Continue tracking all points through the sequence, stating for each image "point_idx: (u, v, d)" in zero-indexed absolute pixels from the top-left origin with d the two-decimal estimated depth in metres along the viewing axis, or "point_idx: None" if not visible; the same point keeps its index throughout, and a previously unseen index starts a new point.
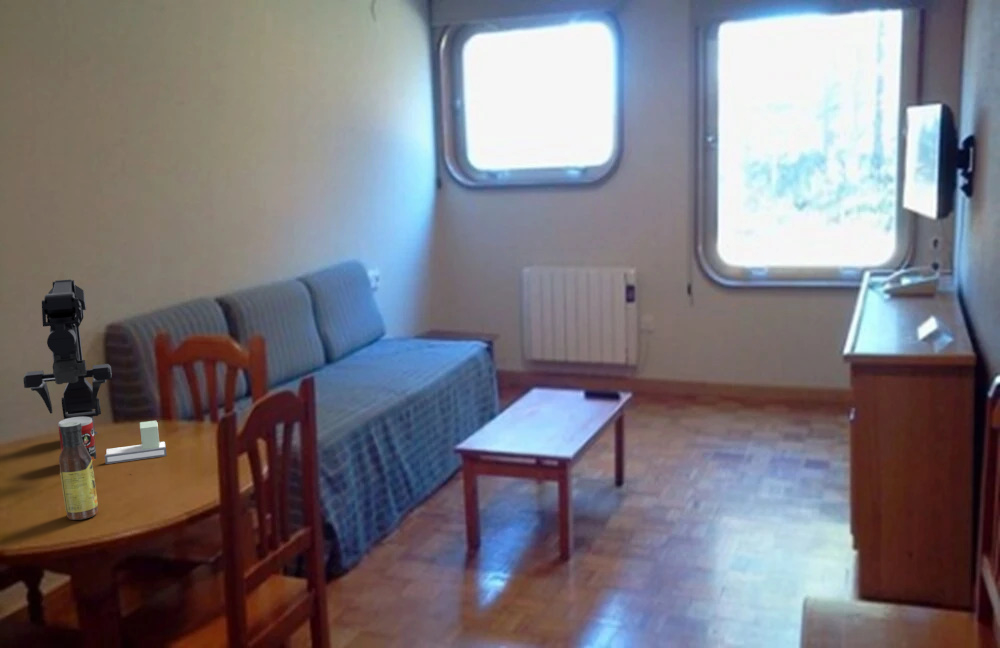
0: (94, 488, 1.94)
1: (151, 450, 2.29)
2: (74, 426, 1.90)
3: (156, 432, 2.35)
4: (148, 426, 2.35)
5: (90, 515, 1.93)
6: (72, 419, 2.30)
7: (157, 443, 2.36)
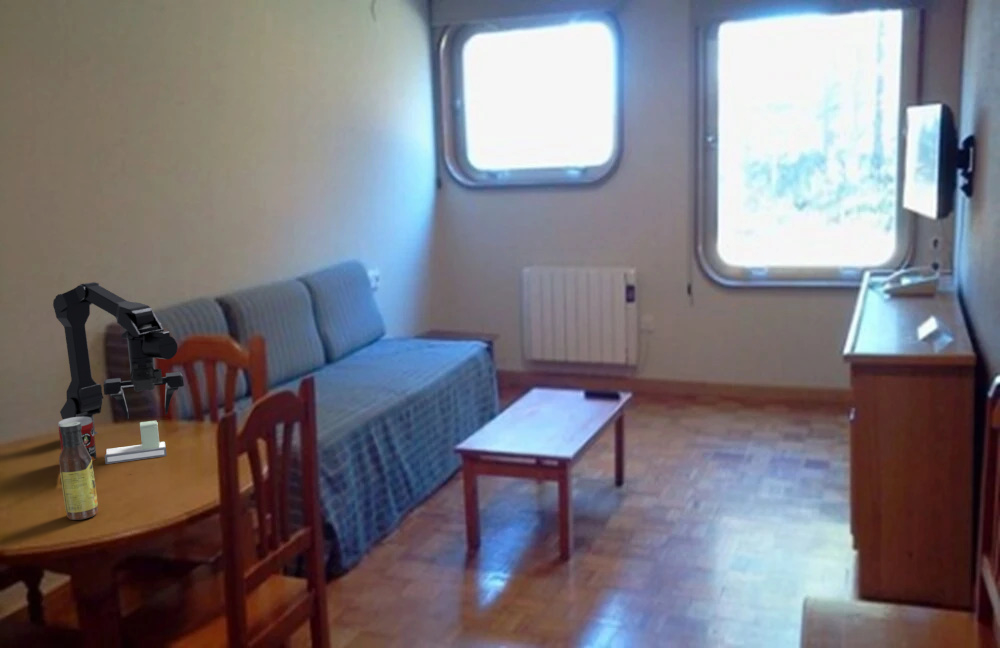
0: (94, 488, 1.94)
1: (151, 450, 2.29)
2: (74, 426, 1.90)
3: (156, 432, 2.35)
4: (148, 426, 2.35)
5: (90, 515, 1.93)
6: (72, 419, 2.30)
7: (157, 443, 2.36)
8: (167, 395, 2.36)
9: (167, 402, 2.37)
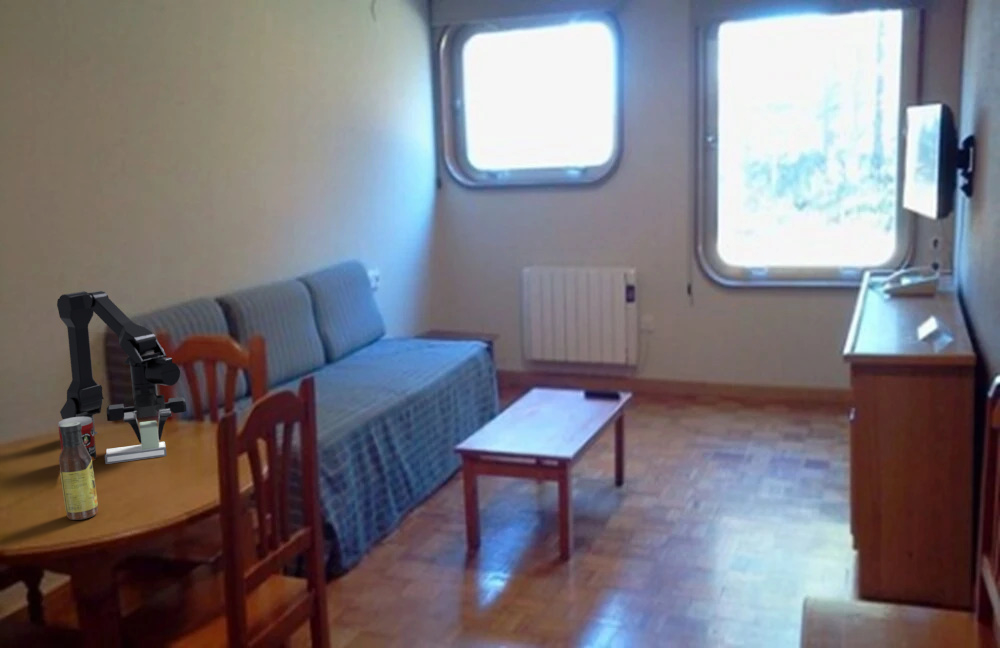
0: (94, 488, 1.94)
1: (151, 450, 2.29)
2: (74, 426, 1.90)
3: (156, 432, 2.35)
4: (148, 426, 2.35)
5: (90, 515, 1.93)
6: (72, 419, 2.30)
7: (157, 443, 2.35)
8: (160, 422, 2.36)
9: (160, 429, 2.37)
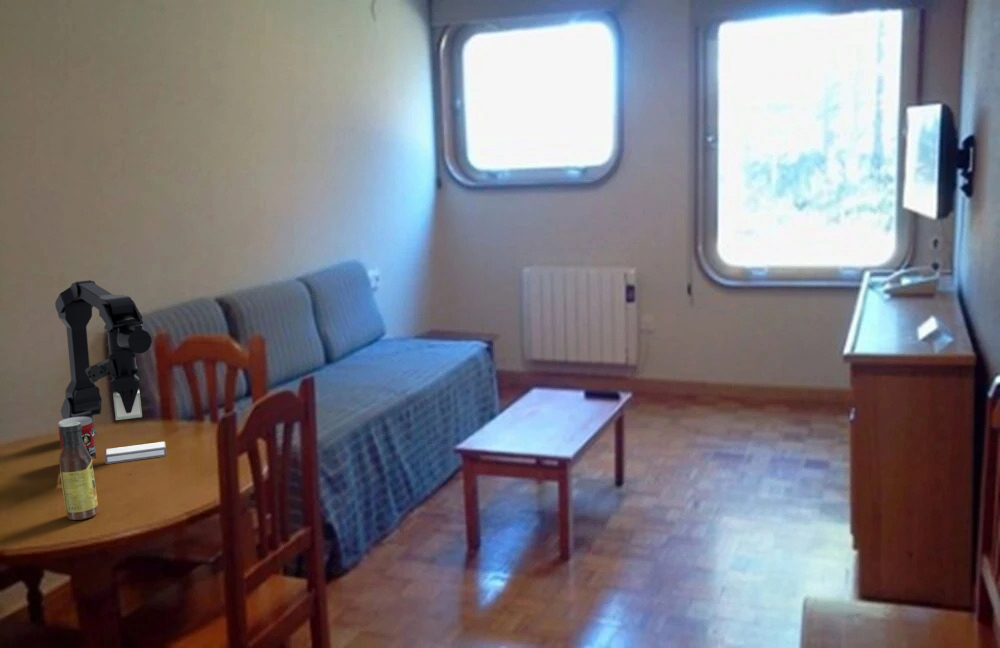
0: (94, 488, 1.94)
1: (151, 450, 2.29)
2: (74, 426, 1.90)
3: (114, 402, 2.26)
4: (117, 393, 2.28)
5: (90, 515, 1.93)
6: (72, 419, 2.30)
7: (115, 413, 2.27)
8: None
9: (122, 401, 2.26)
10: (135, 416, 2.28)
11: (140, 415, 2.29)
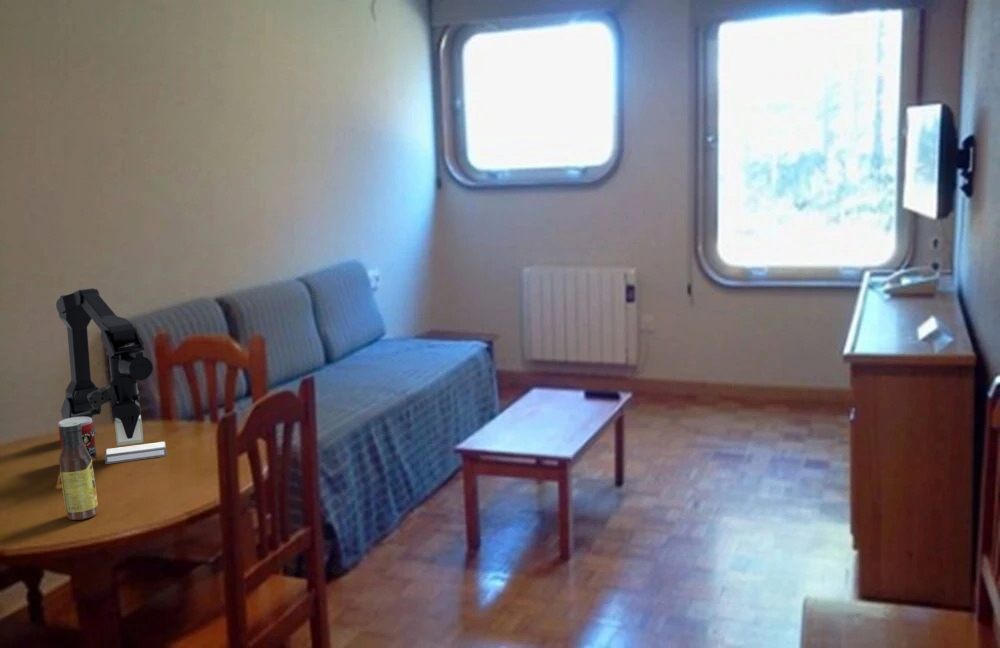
0: (94, 488, 1.94)
1: (151, 450, 2.29)
2: (74, 426, 1.90)
3: (115, 427, 2.27)
4: (118, 419, 2.29)
5: (90, 515, 1.93)
6: (72, 419, 2.30)
7: None
8: None
9: None
10: (136, 441, 2.29)
11: (141, 440, 2.30)
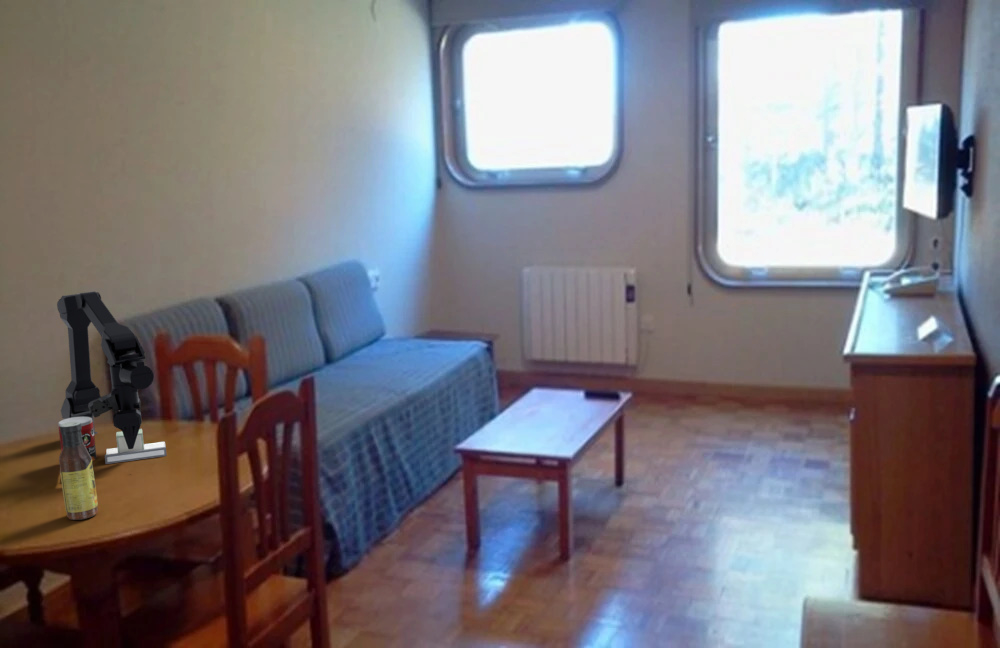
0: (94, 488, 1.94)
1: (151, 450, 2.29)
2: (74, 426, 1.90)
3: None
4: (120, 433, 2.29)
5: (90, 515, 1.93)
6: (72, 419, 2.30)
7: None
8: None
9: None
10: None
11: None
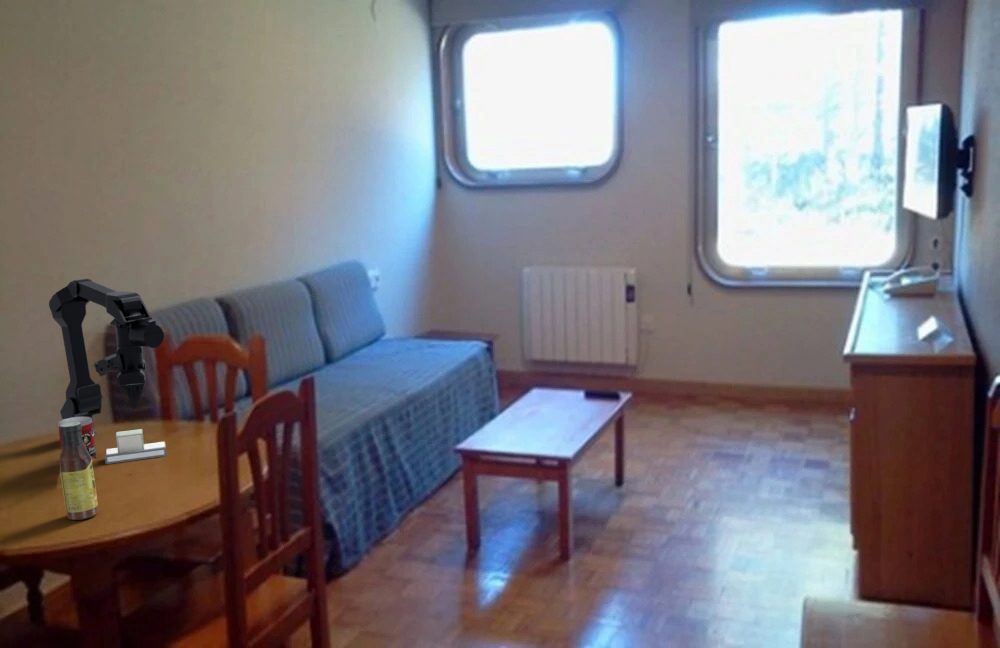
0: (94, 488, 1.94)
1: (151, 450, 2.29)
2: (74, 426, 1.90)
3: None
4: (120, 433, 2.29)
5: (90, 515, 1.93)
6: (72, 419, 2.30)
7: None
8: (126, 390, 2.29)
9: None
10: None
11: None
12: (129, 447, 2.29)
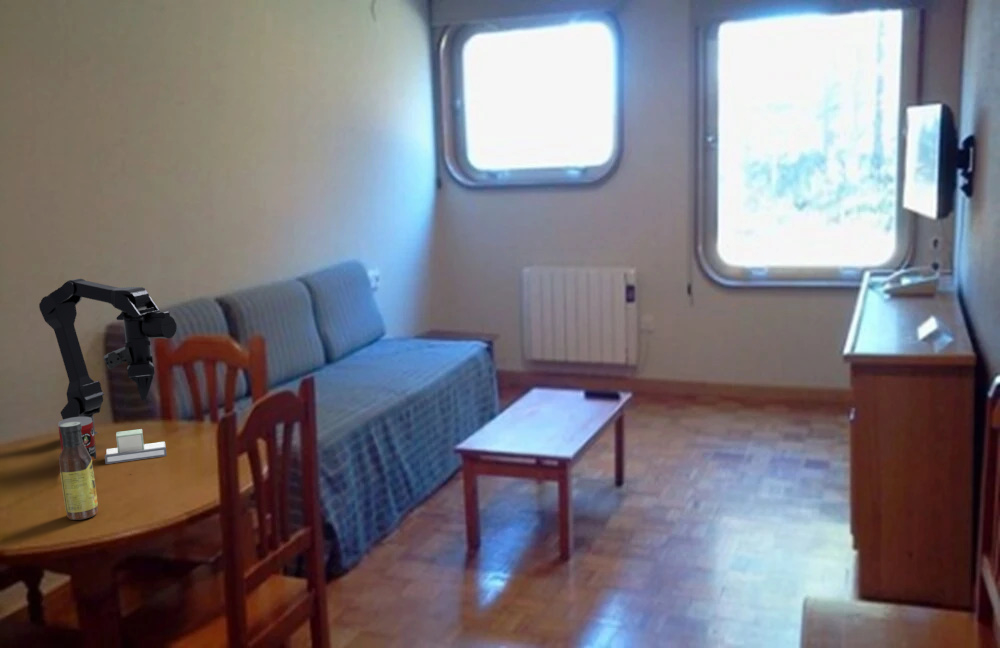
0: (94, 488, 1.94)
1: (151, 450, 2.29)
2: (74, 426, 1.90)
3: None
4: (120, 433, 2.29)
5: (90, 515, 1.93)
6: (72, 419, 2.30)
7: None
8: None
9: (138, 388, 2.36)
10: None
11: None
12: (129, 447, 2.29)
